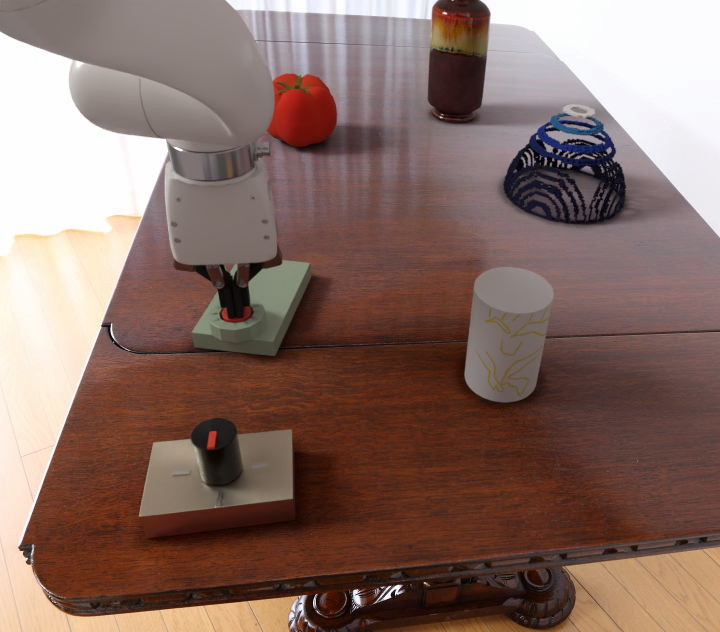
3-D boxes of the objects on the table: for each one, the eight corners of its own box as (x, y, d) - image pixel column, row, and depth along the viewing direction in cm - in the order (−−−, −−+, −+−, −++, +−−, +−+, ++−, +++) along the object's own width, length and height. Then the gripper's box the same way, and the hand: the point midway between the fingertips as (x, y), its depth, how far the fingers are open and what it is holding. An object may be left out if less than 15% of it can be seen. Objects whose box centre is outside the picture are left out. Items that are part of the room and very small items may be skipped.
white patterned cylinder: (472, 405, 72) (483, 315, 65) (458, 355, 78) (466, 268, 71) (545, 399, 74) (564, 311, 67) (525, 351, 80) (541, 265, 73)
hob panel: (146, 539, 56) (138, 515, 54) (159, 464, 62) (152, 441, 60) (295, 520, 59) (292, 497, 57) (294, 450, 65) (292, 427, 63)
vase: (418, 107, 140) (424, -33, 124) (467, 103, 144) (478, -33, 128) (438, 127, 132) (448, -19, 116) (489, 123, 136) (505, -19, 121)
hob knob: (201, 455, 60) (192, 416, 57) (244, 451, 61) (237, 413, 58) (196, 487, 57) (186, 449, 54) (241, 483, 58) (234, 445, 55)
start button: (247, 333, 74) (245, 321, 73) (220, 330, 74) (217, 318, 73) (255, 317, 77) (254, 305, 76) (229, 314, 77) (227, 302, 76)
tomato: (271, 122, 127) (265, 65, 120) (342, 127, 128) (341, 71, 122) (254, 152, 116) (247, 91, 110) (332, 158, 117) (330, 97, 111)
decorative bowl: (537, 157, 125) (549, 78, 116) (639, 190, 118) (660, 109, 109) (482, 196, 111) (491, 109, 102) (594, 236, 103) (615, 147, 95)
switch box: (272, 362, 75) (269, 333, 72) (191, 353, 75) (184, 324, 72) (311, 277, 88) (309, 250, 86) (242, 269, 88) (238, 243, 86)
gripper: (294, 138, 68) (305, 287, 79) (132, 138, 65) (168, 294, 76) (295, 171, 62) (307, 327, 73) (118, 173, 59) (158, 337, 70)
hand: (236, 310), depth 75 cm, fingers closed
